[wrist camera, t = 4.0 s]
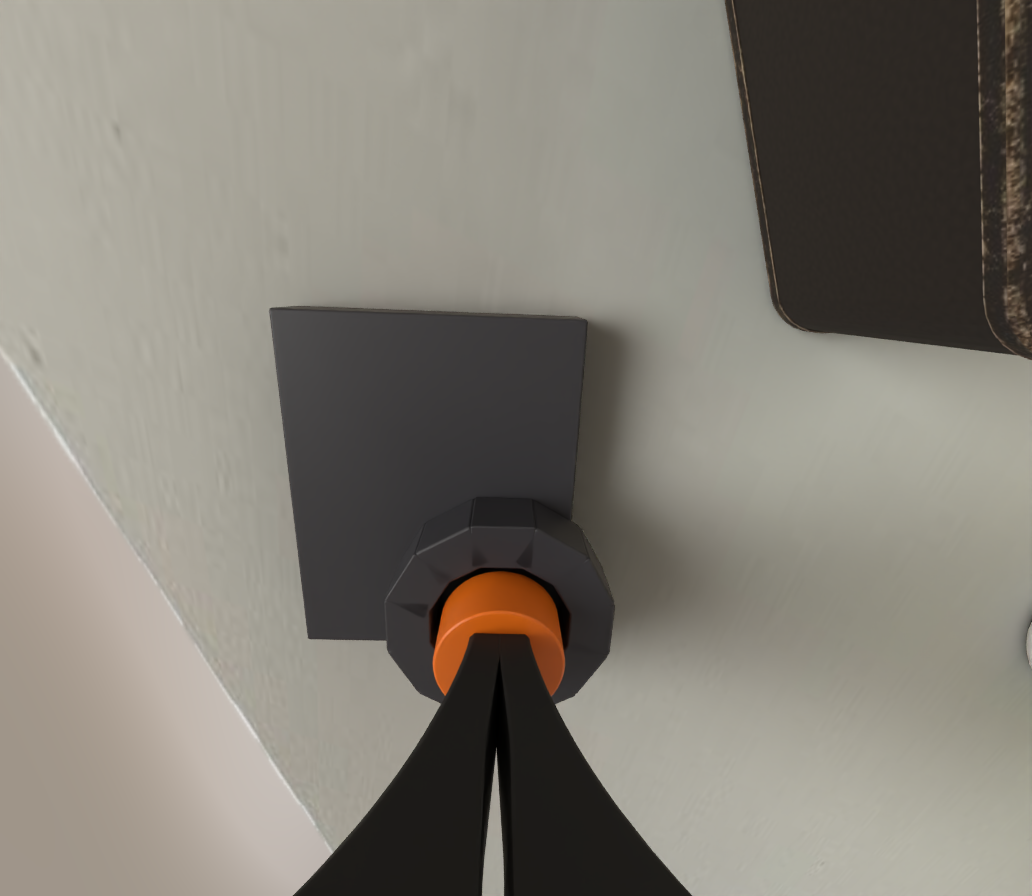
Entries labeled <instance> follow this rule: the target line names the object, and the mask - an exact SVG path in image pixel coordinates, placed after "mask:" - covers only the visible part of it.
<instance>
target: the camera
mask: <svg viewBox="0 0 1032 896" xmlns="http://www.w3.org/2000/svg"><path fill="white" fill-rule="evenodd" d="M725 5H726V11H727V18H728V24H729V31H730V37H731V43H732V50H733V56H734V63H735V69H736V75H737V82H738V88H739V95H740V101H741V107H742V114H743V120H744V127H745V133H746V139H747V146H748V152H749V159H750V165H751V171H752V178H753V184H754V191H755V197H756V203H757V210H758V216H759V223H760V229H761V235H762V242H763V248H764V255H765V261H766V268H767V274H768V280H769V287H770V293H771V298H772V302H773V305H774V307H775V309H776V311H777V313H778V314H779V316H780V317H781V318H782V319H783V320H784V321H785V322H786V323H788V324H789V325H791V326H793V327H794V328H797V329H800V330H803V331H808V332H815V333H839V334H847V335H856V336H864V337H872V338H880V339H888V340H897V341H905V342H913V343H921V344H929V345H938V346H946V347H954V348H962V349H970V350H979V351H987V352H995V353H1003V354H1011V355H1019V356H1022V357H1024V358H1027V359H1030V360H1032V0H725Z"/></svg>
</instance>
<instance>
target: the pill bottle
mask: <svg viewBox="0 0 1032 896" xmlns="http://www.w3.org/2000/svg"><path fill="white" fill-rule="evenodd" d="M1026 649H1027V657H1028V661H1029V664H1030V666H1031V669H1032V622H1031V624H1030V627H1029V629H1028V634H1027V641H1026Z"/></svg>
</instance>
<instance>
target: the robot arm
mask: <svg viewBox="0 0 1032 896" xmlns="http://www.w3.org/2000/svg"><path fill="white" fill-rule="evenodd" d="M496 747H497V763H498V779H499V794H500V810H501V826H502V841H503V857H504V896H692V895H691V894H690V893H689V892H688V891H687V890H686V888H685V887H684V886H683V885H682V884H681V883H680V882H679V881H678V880H677V879H676V877H675V876H674V875H673V874H672V873H671V872H670V870H669V869H668V868H667V867H666V866H665V865H664V864H663V862H662V861H661V860H660V859H659V858H658V857H657V856H656V854H655V853H654V852H653V851H652V850H651V848H650V847H649V846H648V845H647V843H646V842H645V841H644V840H643V838H642V837H641V836H640V834H639V833H638V832H637V831H636V829H635V828H634V827H633V826H632V824H631V823H630V822H629V820H628V819H627V818H626V817H625V815H624V814H623V813H622V812H621V810H620V809H619V808H618V806H617V805H616V804H615V802H614V801H613V799H612V798H611V797H610V795H609V794H608V792H607V791H606V790H605V788H604V787H603V785H602V784H601V782H600V781H599V779H598V778H597V776H596V775H595V773H594V772H593V770H592V769H591V767H590V766H589V764H588V763H587V761H586V759H585V758H584V756H583V755H582V753H581V751H580V750H579V748H578V746H577V745H576V743H575V741H574V739H573V738H572V736H571V734H570V732H569V730H568V729H567V727H566V725H565V723H564V721H563V719H562V718H561V716H560V714H559V712H558V710H557V708H556V706H555V704H554V702H553V699H552V697H551V695H550V693H549V691H548V689H547V687H546V685H545V682H544V680H543V678H542V675H541V673H540V670H539V668H538V665H537V662H536V660H535V657H534V654H533V650H532V647H531V643H530V639H529V638H528V637H527V636H526V635H525V634H484V633H474V634H473V635H472V636H471V637H470V638H469V642H468V645H467V649H466V651H465V654H464V657H463V659H462V662H461V664H460V667H459V669H458V671H457V673H456V676H455V678H454V680H453V682H452V684H451V686H450V688H449V690H448V692H447V694H446V696H445V698H444V700H443V702H442V704H441V705H440V707H439V709H438V711H437V712H436V714H435V716H434V718H433V719H432V721H431V723H430V724H429V726H428V728H427V730H426V731H425V733H424V735H423V736H422V738H421V739H420V741H419V743H418V744H417V746H416V747H415V749H414V750H413V752H412V753H411V755H410V756H409V758H408V759H407V761H406V762H405V764H404V765H403V767H402V768H401V769H400V771H399V772H398V774H397V775H396V777H395V778H394V779H393V781H392V782H391V783H390V785H389V786H388V787H387V789H386V790H385V791H384V792H383V794H382V795H381V796H380V798H379V799H378V800H377V802H376V803H375V804H374V806H373V807H372V808H371V809H370V811H369V812H368V813H367V814H366V816H365V817H364V818H363V819H362V820H361V822H360V823H359V824H358V825H357V826H356V828H355V829H354V830H353V831H352V832H351V833H350V834H349V836H348V837H347V838H346V839H345V840H344V841H343V842H342V843H341V845H340V846H339V847H338V848H337V849H336V850H335V851H334V853H333V854H332V855H331V856H330V857H329V858H328V859H327V861H326V862H325V863H324V864H323V865H322V866H321V867H320V868H319V869H318V870H317V872H316V873H315V874H314V875H313V876H312V877H311V878H310V879H309V880H308V881H307V882H306V883H305V884H304V885H303V886H302V887H301V888H300V889H299V890H298V891H297V892H296V893H295V894H294V895H293V896H482V880H483V867H484V855H485V846H486V837H487V828H488V819H489V810H490V801H491V792H492V783H493V774H494V765H495V755H496Z"/></svg>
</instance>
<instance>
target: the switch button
mask: <svg viewBox="0 0 1032 896" xmlns="http://www.w3.org/2000/svg"><path fill="white" fill-rule="evenodd" d="M474 633H484V634H525V635H526V636H527V637H528V638H529V639H530V643H531V647H532V650H533V654H534V657H535V660H536V662H537V665H538V668H539V670H540V673H541V675H542V678H543V680H544V682H545V685H546V687H547V689H548V691H549V693H550V695H551V696H552V695H553V694H554V693H555V691H556V690H557V688H558V687H559V685H560V683H561V680H562V677H563V674H564V669H565V656H564V650H563V644H562V637H561V631H560V625H559V619H558V612H557V608H556V605H555V603H554V601H553V599H552V598H551V596H550V595H549V593H548V592H547V591H546V590H545V589H544V588H543V587H542V586H541V585H540V584H538V583H537V582H535V581H534V580H532V579H530V578H528V577H526V576H524V575H521V574H518V573H513V572H506V571H493V572H487V573H483V574H479V575H476V576H474V577H472V578H470V579H468V580H466V581H465V582H463V583H462V584H460V585H459V586H458V587H457V588H456V589H455V590H454V591H453V592H452V593H451V595H450V596H449V597H448V599H447V601H446V602H445V605H444V608H443V611H442V616H441V621H440V626H439V631H438V636H437V640H436V645H435V650H434V655H433V672H434V676H435V679H436V681H437V684H438V686H439V688H440V689H441V691H442V692H443V694H444V695H445V696H446V694H447V692H448V690H449V688H450V686H451V684H452V682H453V680H454V678H455V676H456V673H457V671H458V669H459V667H460V664H461V662H462V659H463V657H464V654H465V651H466V649H467V645H468V642H469V638H470V637H471V636H472V635H473V634H474Z"/></svg>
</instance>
